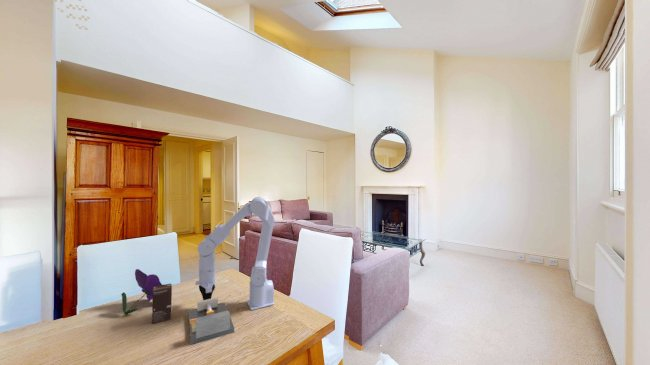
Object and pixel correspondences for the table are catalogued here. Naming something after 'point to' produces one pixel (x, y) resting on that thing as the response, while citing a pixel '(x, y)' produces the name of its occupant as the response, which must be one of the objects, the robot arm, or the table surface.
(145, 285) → the flower
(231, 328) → the sloped base with peg
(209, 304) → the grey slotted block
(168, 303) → the box
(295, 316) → the table surface
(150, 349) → the table surface
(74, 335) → the table surface
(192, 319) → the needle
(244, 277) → the table surface
